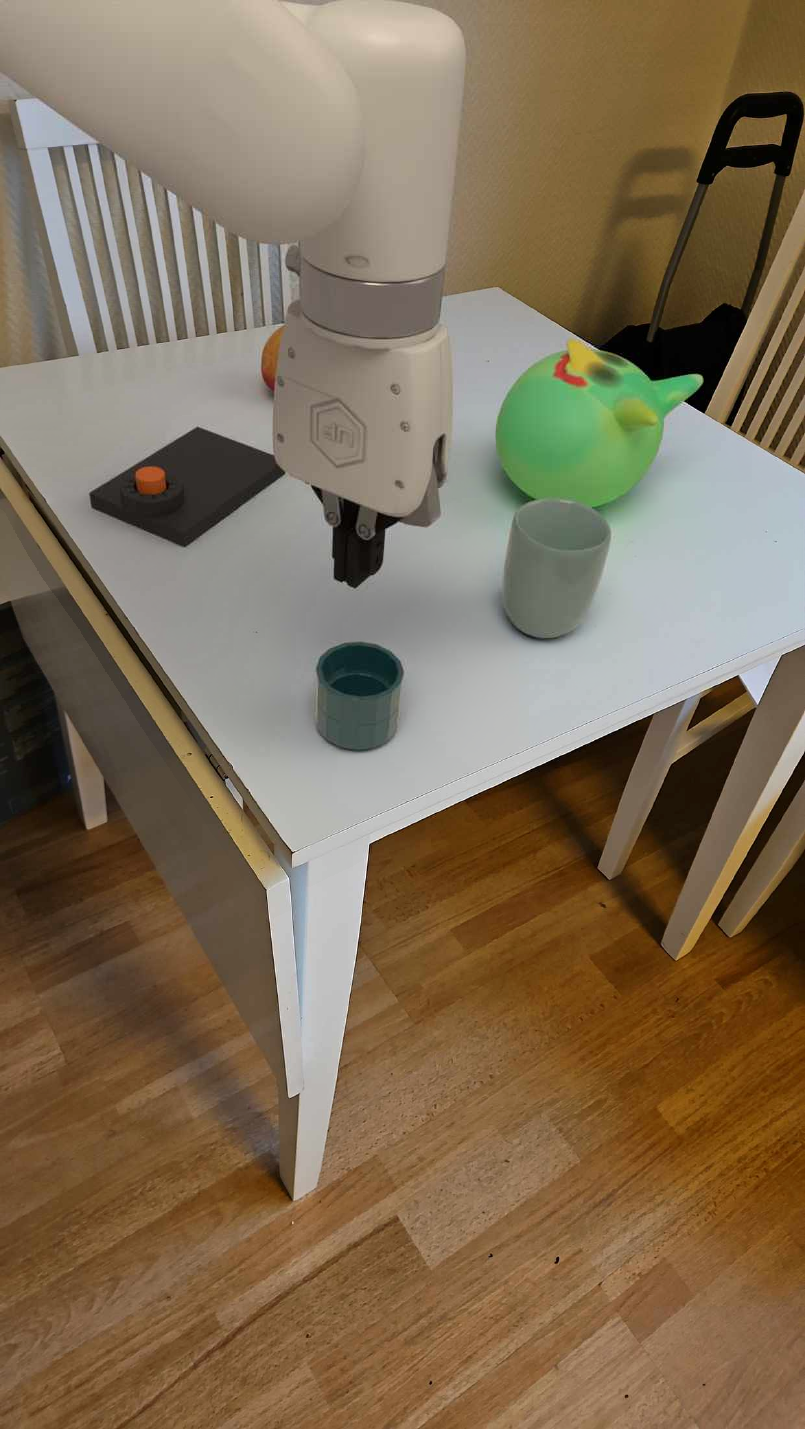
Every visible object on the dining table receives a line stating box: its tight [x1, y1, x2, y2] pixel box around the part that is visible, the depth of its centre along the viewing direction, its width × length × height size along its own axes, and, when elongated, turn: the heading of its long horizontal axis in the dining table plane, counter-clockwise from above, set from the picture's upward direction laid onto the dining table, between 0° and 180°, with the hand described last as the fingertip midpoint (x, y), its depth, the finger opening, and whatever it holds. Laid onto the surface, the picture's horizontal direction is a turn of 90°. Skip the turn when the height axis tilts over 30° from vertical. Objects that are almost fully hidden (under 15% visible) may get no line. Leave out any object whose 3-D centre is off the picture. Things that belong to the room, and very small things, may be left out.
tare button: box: [135, 467, 166, 495], centre depth 87 cm, size 3×3×2 cm
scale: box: [88, 426, 286, 548], centre depth 92 cm, size 16×11×3 cm
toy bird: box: [495, 338, 704, 508], centre depth 93 cm, size 18×17×15 cm
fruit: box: [260, 325, 284, 392], centre depth 106 cm, size 8×8×8 cm
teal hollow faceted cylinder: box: [314, 641, 405, 751], centre depth 70 cm, size 6×6×6 cm
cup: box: [501, 498, 612, 639], centre depth 79 cm, size 8×8×10 cm
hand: (356, 574), depth 63 cm, fingers closed
